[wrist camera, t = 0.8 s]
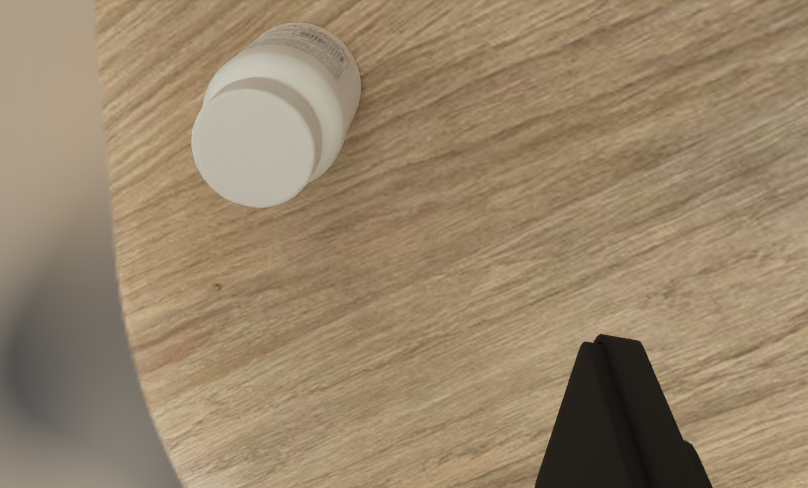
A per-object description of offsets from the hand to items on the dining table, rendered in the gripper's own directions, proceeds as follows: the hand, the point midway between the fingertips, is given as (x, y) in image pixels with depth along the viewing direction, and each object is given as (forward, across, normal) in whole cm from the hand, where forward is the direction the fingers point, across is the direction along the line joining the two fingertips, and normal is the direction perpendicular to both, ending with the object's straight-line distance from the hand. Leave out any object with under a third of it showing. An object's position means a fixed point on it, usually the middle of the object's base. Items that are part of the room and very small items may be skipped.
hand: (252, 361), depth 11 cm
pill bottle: (+18, +2, +1) cm, 18 cm away
